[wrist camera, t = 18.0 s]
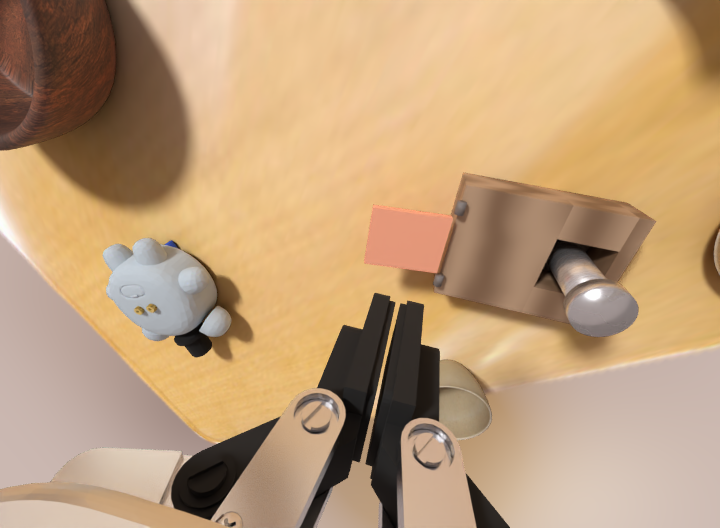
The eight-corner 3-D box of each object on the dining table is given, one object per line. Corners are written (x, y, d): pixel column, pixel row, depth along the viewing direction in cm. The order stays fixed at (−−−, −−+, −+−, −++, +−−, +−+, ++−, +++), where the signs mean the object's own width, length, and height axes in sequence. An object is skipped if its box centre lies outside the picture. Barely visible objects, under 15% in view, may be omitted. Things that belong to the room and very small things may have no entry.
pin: (591, 233, 34) (651, 296, 24) (573, 271, 36) (620, 342, 26) (544, 225, 34) (583, 283, 25) (529, 263, 37) (559, 329, 27)
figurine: (106, 236, 49) (179, 332, 59) (51, 269, 42) (145, 370, 52) (197, 217, 43) (261, 325, 54) (152, 250, 37) (235, 367, 47)
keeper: (451, 215, 31) (453, 218, 30) (435, 269, 34) (436, 273, 33) (373, 204, 31) (373, 207, 30) (364, 259, 34) (364, 263, 33)
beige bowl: (447, 405, 50) (448, 449, 44) (400, 367, 49) (394, 408, 43) (500, 377, 46) (510, 422, 39) (450, 334, 44) (451, 374, 38)
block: (627, 203, 32) (663, 225, 27) (571, 300, 38) (591, 334, 33) (458, 171, 34) (462, 187, 29) (431, 269, 40) (429, 296, 35)
